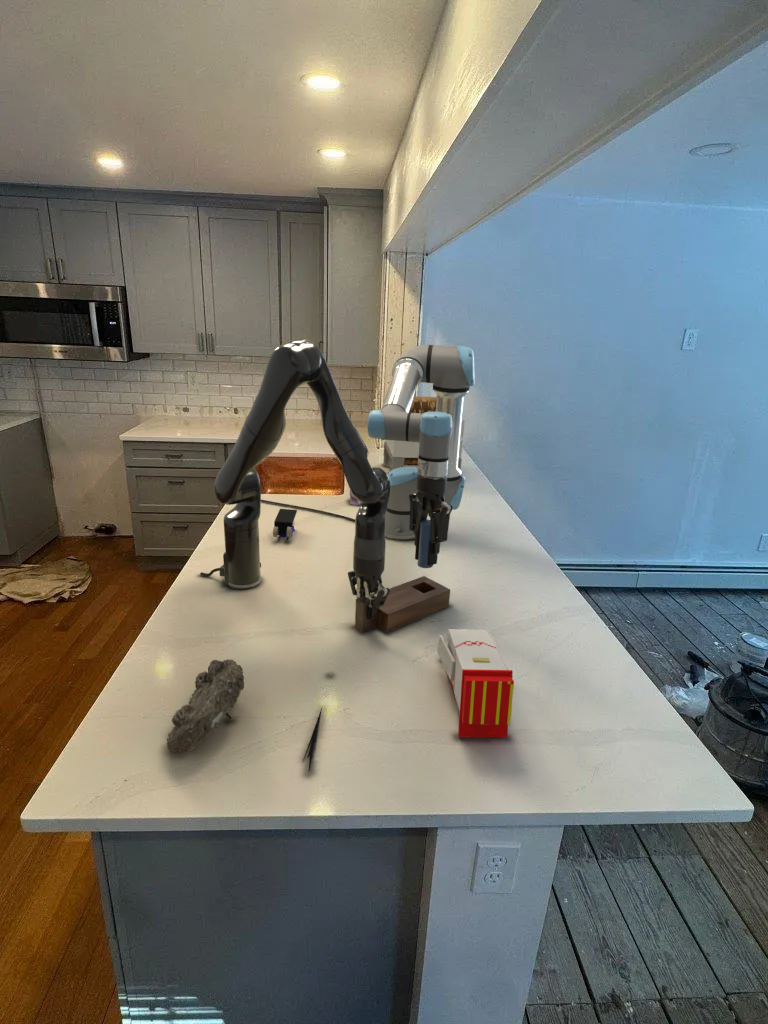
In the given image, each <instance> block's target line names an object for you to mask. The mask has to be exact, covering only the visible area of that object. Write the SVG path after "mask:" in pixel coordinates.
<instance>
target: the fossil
mask: <svg viewBox="0 0 768 1024" xmlns="http://www.w3.org/2000/svg"><path fill="white" fill-rule="evenodd" d="M243 670H244V669H243V667H242V665H240V664H237V662H236V661H235V660H234V659H232V658H231V659H227V658H226V659H224V660H223V661H222V660H217V659H212V660H211V661H210V663H209V665H208V666H207V671H201V672H199V673H198V674H197V675H196V676H195V680H194V684H195V685H194V687H195V689H194V690H193V693H192V694H191V697H190V698H189V700H188V704H184V705H182V706H181V707H180V709H177V710H176V711H175V713H174V715H173V716H172V718H171V723H172V724H173V727H172V730H171V731H170V732H168V734H167V738H166V741H167V742H166V745H167V749H168V750H169V751H173V752H174V753H176V754H178V753H182V752H188V751H189V752H192V751H193V750H195V748H196V747H197V746H199V744H200V743H201V742H203V741H204V740H205V739H206V738H207V737H208V736H209V735H210V734H211V733H212V732H214V730H215V729H217V727H218V726H219V724H220V722H221V721H222V720H223V719H224V718H225V716H226V717H227V719H229V720H233V717H232V715H230V714H229V710H230V709H231V708H234V706H235V704H236V703H237V702H238V699H239V697H240V695H241V693H242V691H243V690H245V689H244V688H245V675H244V671H243Z"/></svg>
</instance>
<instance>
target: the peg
mask: <svg viewBox="0 0 768 1024" xmlns="http://www.w3.org/2000/svg"><path fill="white" fill-rule="evenodd" d="M430 541H432V537H431V524H430V519H427V520H422V521H421V525H420V539H419V553H418V560H417V566H418V567H419V568H422V569H431V568H433V567H434V565H431V566H428V565H427V564H428V551H429V542H430Z"/></svg>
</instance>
